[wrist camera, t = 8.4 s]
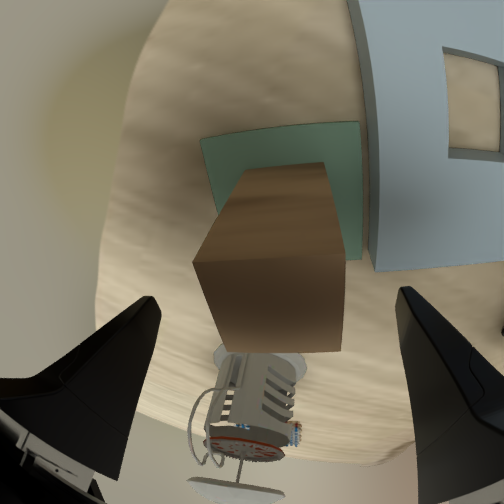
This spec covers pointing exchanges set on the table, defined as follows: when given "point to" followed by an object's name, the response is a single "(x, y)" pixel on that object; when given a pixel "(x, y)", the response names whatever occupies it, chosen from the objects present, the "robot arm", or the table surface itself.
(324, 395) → the table surface
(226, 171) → the green pad
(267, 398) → the french press
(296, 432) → the woven mat
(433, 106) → the pocket board
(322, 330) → the walnut block
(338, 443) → the table surface
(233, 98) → the table surface
